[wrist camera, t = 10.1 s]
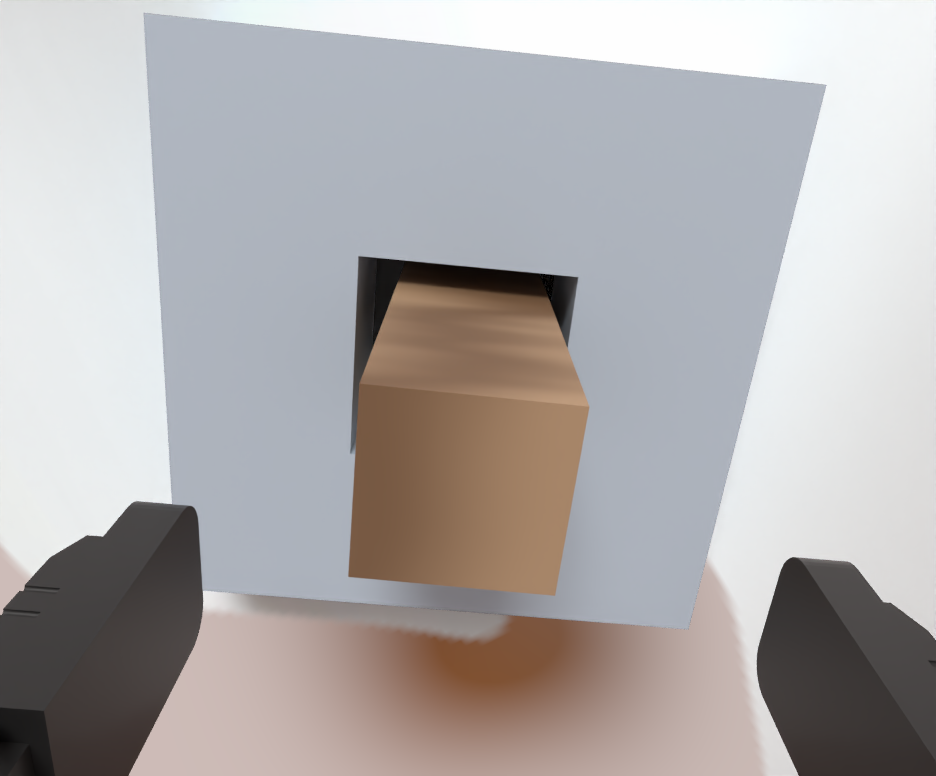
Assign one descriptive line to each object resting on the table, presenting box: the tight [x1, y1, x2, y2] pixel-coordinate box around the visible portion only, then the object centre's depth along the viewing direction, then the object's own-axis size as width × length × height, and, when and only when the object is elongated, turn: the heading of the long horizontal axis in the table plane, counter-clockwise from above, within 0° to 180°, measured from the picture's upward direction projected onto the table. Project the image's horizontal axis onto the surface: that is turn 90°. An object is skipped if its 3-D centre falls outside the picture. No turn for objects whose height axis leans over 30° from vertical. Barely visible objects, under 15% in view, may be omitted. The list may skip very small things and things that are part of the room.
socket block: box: [144, 13, 826, 629], centre depth 20 cm, size 14×14×4 cm
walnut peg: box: [348, 261, 589, 596], centre depth 17 cm, size 4×4×10 cm
